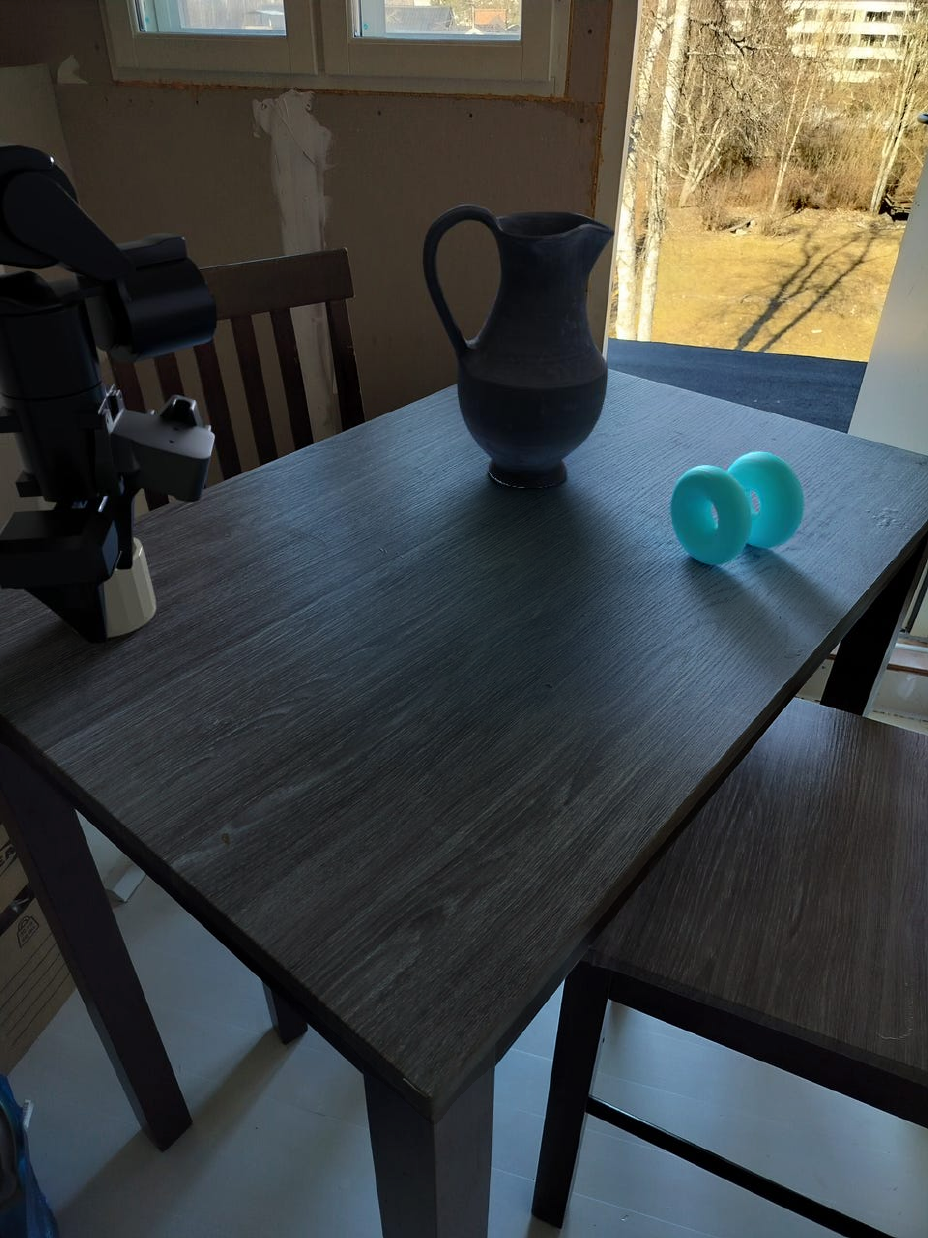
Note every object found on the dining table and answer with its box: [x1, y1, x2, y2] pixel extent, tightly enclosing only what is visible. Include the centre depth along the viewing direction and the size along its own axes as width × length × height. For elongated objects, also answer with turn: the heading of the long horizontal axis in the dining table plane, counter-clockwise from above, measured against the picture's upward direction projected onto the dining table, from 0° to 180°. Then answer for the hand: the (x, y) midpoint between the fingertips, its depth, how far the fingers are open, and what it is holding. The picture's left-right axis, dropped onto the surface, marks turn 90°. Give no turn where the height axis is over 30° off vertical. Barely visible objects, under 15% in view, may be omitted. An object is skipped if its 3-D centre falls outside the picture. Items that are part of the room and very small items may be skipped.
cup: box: [71, 536, 157, 638], centre depth 77 cm, size 8×8×6 cm
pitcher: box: [422, 204, 615, 489], centre depth 95 cm, size 17×21×30 cm
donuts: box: [669, 451, 805, 566], centre depth 86 cm, size 10×10×10 cm
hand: (112, 602), depth 59 cm, fingers open, 9 cm apart
